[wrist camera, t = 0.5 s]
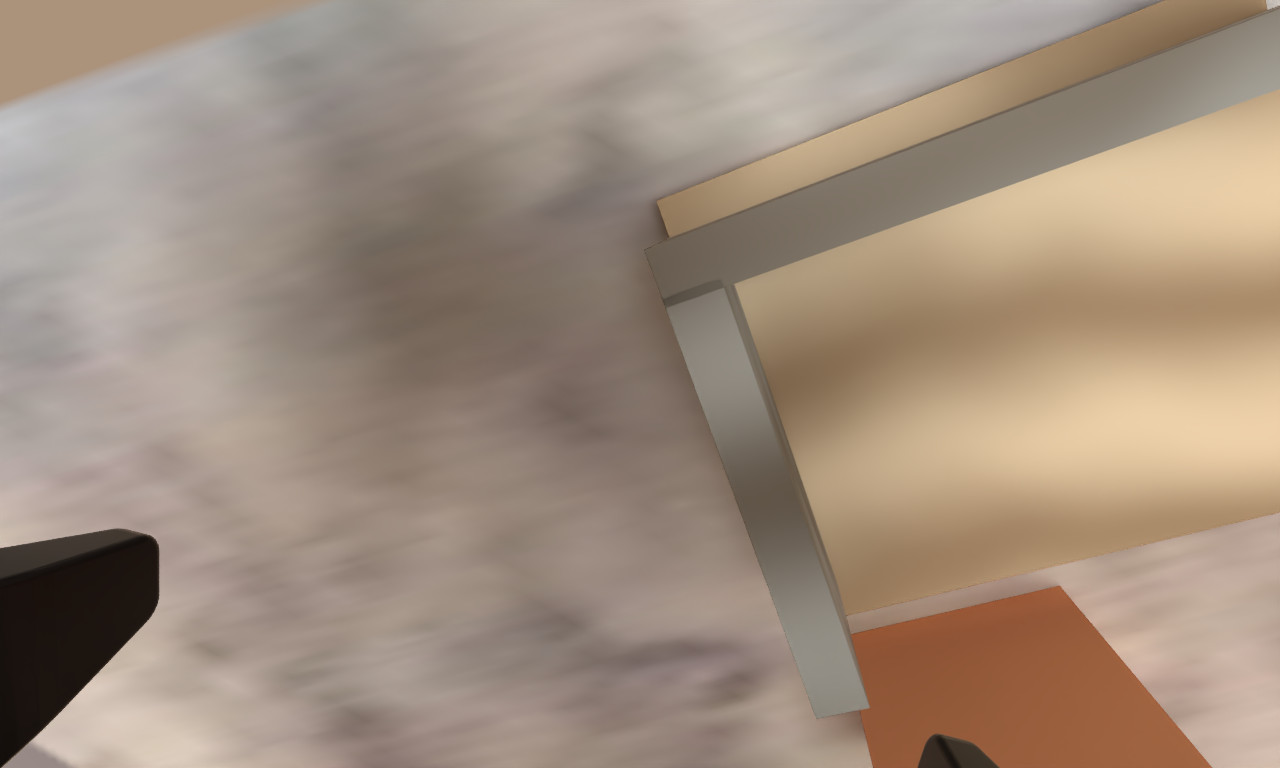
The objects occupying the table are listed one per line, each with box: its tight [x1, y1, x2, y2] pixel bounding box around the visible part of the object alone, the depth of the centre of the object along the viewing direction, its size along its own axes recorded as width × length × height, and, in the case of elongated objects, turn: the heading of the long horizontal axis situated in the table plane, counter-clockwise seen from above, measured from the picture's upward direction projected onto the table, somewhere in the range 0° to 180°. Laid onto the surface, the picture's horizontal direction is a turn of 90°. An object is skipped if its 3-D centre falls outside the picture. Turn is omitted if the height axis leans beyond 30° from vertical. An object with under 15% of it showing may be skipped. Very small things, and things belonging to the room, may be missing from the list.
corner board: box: [645, 0, 1280, 719], centre depth 16 cm, size 13×14×6 cm
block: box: [851, 586, 1212, 768], centre depth 18 cm, size 4×6×7 cm, turn 110°
